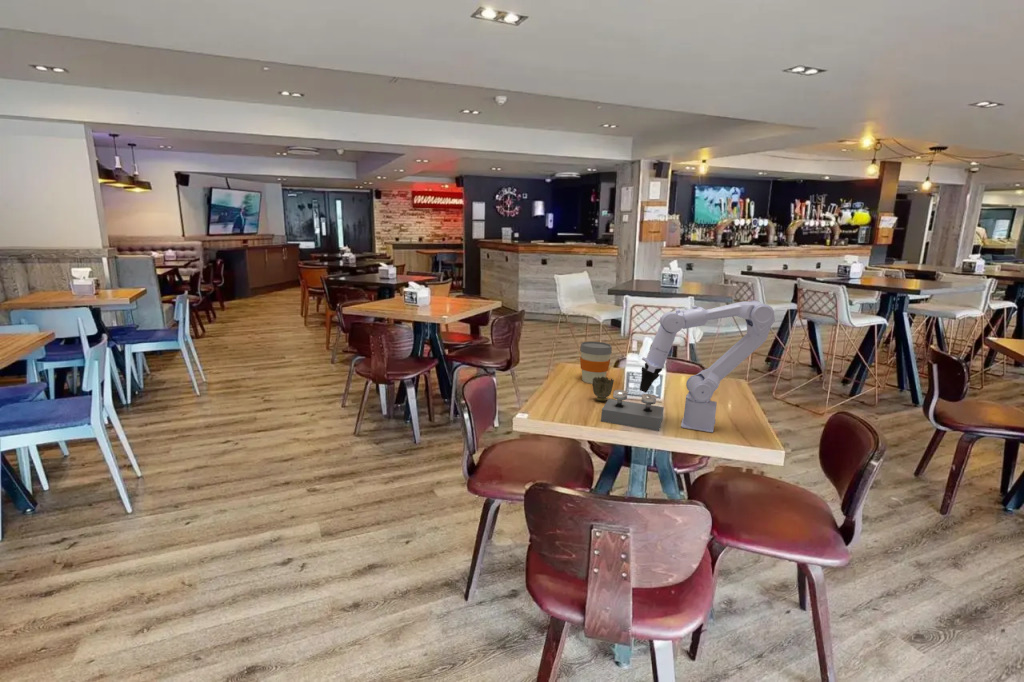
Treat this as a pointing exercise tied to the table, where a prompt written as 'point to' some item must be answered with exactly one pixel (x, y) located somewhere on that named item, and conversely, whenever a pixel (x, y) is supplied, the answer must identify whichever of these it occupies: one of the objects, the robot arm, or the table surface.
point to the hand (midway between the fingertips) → (644, 388)
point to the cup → (602, 388)
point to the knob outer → (620, 396)
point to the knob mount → (632, 415)
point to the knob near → (648, 400)
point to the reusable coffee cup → (594, 360)
